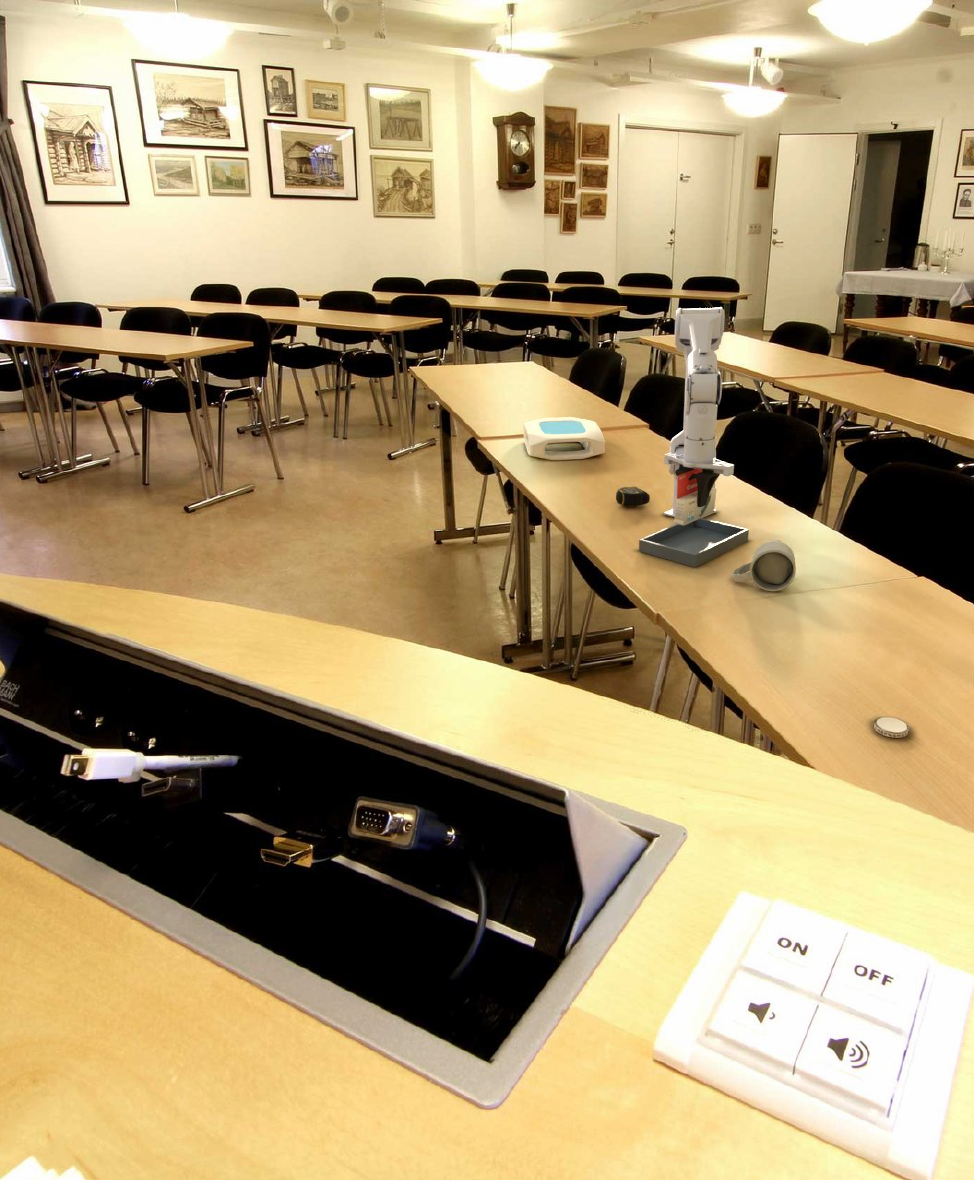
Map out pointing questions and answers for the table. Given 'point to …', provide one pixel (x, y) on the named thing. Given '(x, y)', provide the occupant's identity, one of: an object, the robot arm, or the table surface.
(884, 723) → the bottle cap
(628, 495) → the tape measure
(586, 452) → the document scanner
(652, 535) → the tray
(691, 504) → the ink cartridge box
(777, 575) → the ceramic mug
